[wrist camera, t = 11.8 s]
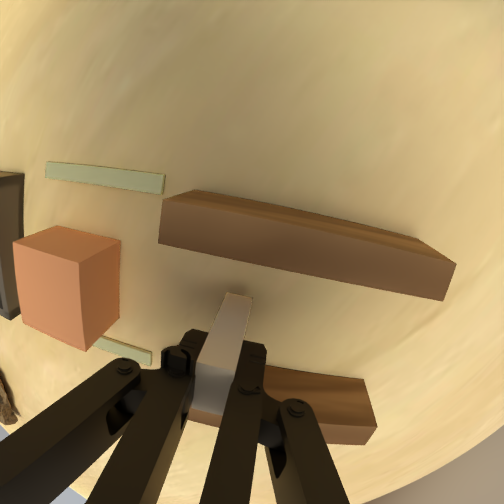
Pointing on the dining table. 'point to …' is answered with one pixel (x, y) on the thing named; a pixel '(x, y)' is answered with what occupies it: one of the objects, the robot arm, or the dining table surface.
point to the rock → (6, 408)
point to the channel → (315, 264)
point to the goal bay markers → (117, 180)
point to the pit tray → (10, 239)
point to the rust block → (68, 284)
